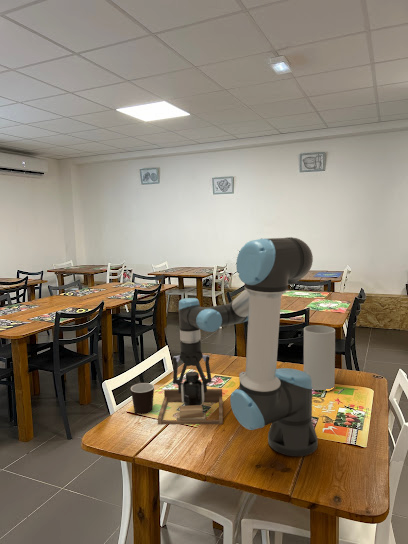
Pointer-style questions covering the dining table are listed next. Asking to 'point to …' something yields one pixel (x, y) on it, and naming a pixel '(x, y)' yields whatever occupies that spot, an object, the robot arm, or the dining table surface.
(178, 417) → the offcut lower
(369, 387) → the dining table surface
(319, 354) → the cylinder vase
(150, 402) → the coffee mug
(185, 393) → the supplement bottle
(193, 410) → the offcut upper
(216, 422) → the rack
